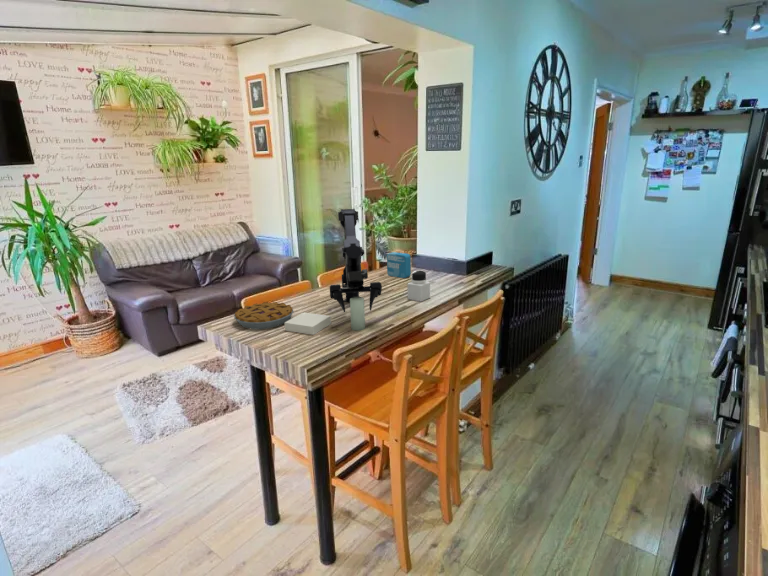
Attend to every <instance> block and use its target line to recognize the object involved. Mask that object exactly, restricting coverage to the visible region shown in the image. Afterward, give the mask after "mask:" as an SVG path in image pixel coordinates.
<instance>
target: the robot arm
mask: <svg viewBox="0 0 768 576" xmlns="http://www.w3.org/2000/svg"><path fill="white" fill-rule="evenodd" d="M337 218H338V219H337V220H338V222H339V225H340V227H341V228H342V229H343V231H344V232H343V233H344V235H343V236H344V241H343V247H341V255H342V258H344V260H345V266H344V268H343V270H342V274H341V284H340V283H339V284H330V285H329V296H330V297H329V298H330V299H333V300H334V301H337V302H338V303H339V305H340V307H341V310H342V311H343V313H346V306H345V303H350V298H352V297H360V293H365V292H366V293H368V292H369V311H372V307H373V304H374V302H375V301H374V300H375V299H376V298H378V297H379V296H381V295H382V292H383V291H382V289H383V286H382V283H381V282H380V281H372V282H370V284H369V286H368V285H367V286H364V283H365V282H364V280H367V279H369V277H368V275H369V274H368V273H369V272H368V269H365V268H364V269H363V268H362V265H361V264H362V257H364V255H365V250H364V249H363V247H362V246H361V241H360V240H359V239H358V238H357V234H356V233H357V232H356V225H357V222H358V221H359V211H356V209H355V208H345V209H344V208H341V209H340V211H338V212H337ZM343 294H345V298H344V296H343Z"/></svg>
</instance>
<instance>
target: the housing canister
mask: <svg viewBox="0 0 768 576" xmlns="http://www.w3.org/2000/svg"><path fill="white" fill-rule="evenodd" d="M349 309H350V327H351V330H352V331H363V330H365V329H366V321H365V320H366V318H365V298H364V297H362V296H359V297H352V298H350V302H349Z"/></svg>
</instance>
